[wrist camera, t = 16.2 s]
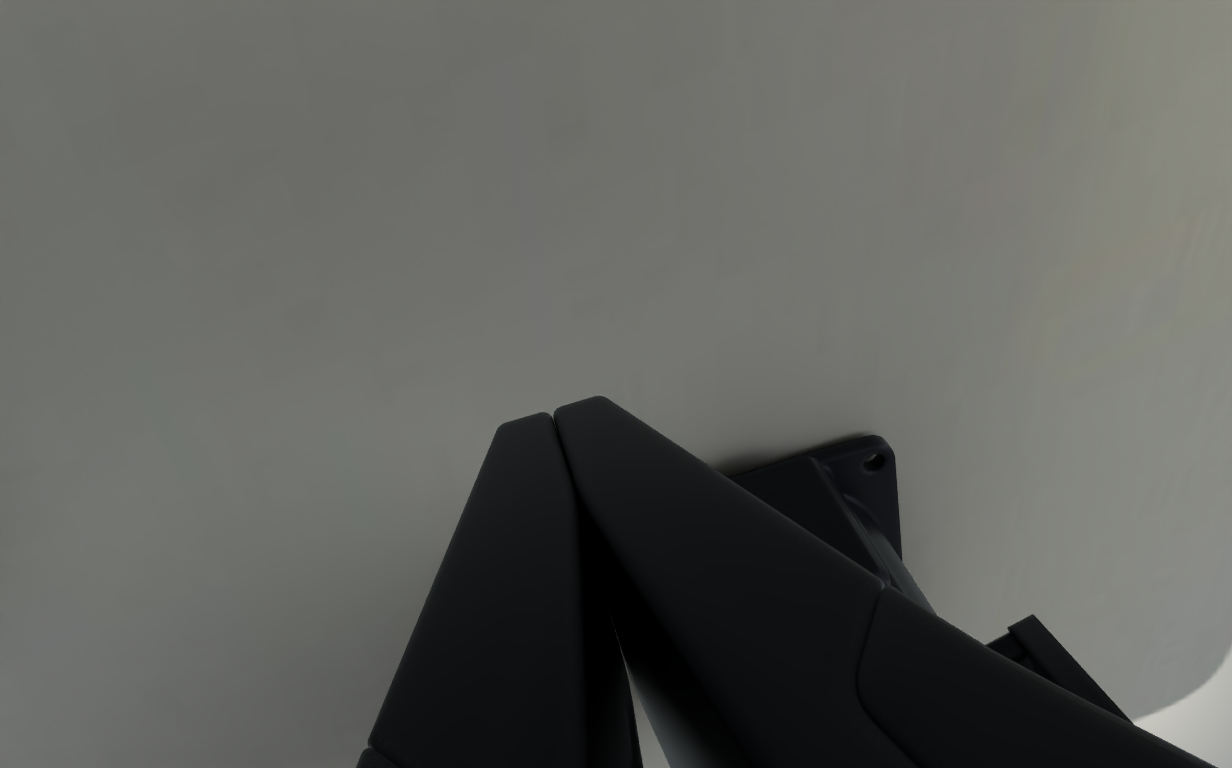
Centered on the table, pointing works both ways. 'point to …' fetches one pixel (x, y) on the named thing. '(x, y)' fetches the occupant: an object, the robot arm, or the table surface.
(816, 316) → the table surface
